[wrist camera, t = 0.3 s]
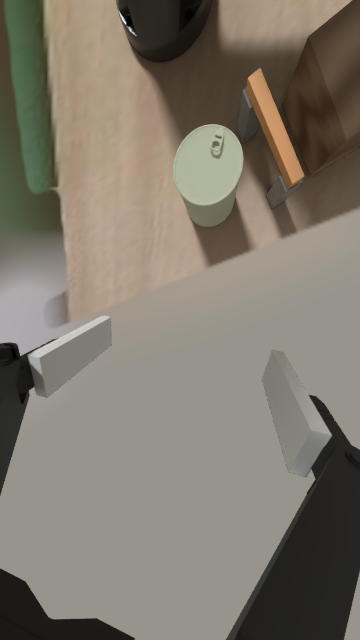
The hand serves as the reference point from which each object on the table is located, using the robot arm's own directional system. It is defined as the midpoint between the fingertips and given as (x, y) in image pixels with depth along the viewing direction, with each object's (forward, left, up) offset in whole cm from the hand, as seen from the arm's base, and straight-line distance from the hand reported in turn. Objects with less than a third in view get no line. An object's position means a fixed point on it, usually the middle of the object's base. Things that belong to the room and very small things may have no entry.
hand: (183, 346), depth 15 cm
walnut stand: (-32, +17, -26) cm, 44 cm away
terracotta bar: (-25, +7, -19) cm, 32 cm away
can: (-19, -1, -26) cm, 33 cm away
